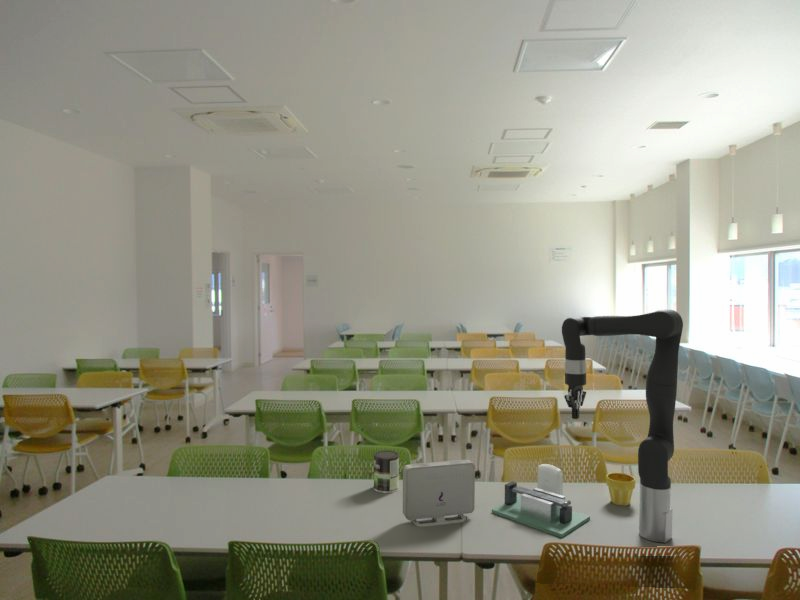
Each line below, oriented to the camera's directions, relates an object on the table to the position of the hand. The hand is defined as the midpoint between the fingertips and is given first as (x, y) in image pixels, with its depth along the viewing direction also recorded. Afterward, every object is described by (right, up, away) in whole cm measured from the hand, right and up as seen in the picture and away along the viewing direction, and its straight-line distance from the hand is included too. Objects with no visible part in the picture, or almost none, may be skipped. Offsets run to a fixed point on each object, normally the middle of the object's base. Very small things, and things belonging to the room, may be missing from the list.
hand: (575, 418), depth 205 cm
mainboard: (-14, -34, -4) cm, 37 cm away
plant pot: (+20, -34, +9) cm, 40 cm away
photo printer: (-6, -34, +14) cm, 37 cm away
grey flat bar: (-14, -28, -5) cm, 31 cm away
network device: (-51, -34, -7) cm, 62 cm away
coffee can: (-70, -33, +22) cm, 81 cm away
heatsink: (-15, -33, -3) cm, 36 cm away
